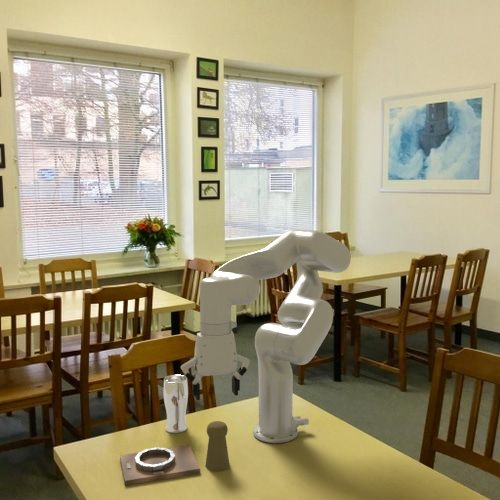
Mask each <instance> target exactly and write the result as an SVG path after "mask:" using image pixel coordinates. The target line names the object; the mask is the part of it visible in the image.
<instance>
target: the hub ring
mask: <svg viewBox="0 0 500 500" xmlns="http://www.w3.org/2000/svg"><path fill="white" fill-rule="evenodd" d="M166 448H167V447H160V446H159V447H158V446H156V447H150V448H146V449H144V450H142V451H139V453H138V452H137V453H138V454H137V455H136V457H135V465H136V468H137V469H139V470H141V471H143V472H160V471H164V470H166V469H168V468H170V467H172V466H173V464H174V463H175V455H174V452H173V451H171V450H169V449H166ZM152 455H165V456H167V457H169V460H167V461H165V462H163V463H160V464H145V463H143V462H141V460H142V459H143V458H146V457H148V456H152Z"/></svg>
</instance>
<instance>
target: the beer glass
mask: <svg viewBox="0 0 500 500" xmlns="http://www.w3.org/2000/svg"><path fill="white" fill-rule="evenodd" d="M188 399H189V386H188V379H187V378H186V376H185V375H181V374H171V375H167V376H165V377H164V378H163V401H164V406H165V411H166V412H165V413H166V425H165V430H166V431H167V432H168V433H170V434H180V433H183V432H185V431H186V430H187V429H188V425H187V420H186V415H187V407H188V406H187V405H188V401H189V400H188Z"/></svg>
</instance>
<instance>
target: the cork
mask: <svg viewBox="0 0 500 500" xmlns="http://www.w3.org/2000/svg"><path fill="white" fill-rule="evenodd" d="M228 431H229V430H228V426H227V423H225V422H223V421H220V420H216V421H215V420H213V421H211V422H209V423H208V425H207V427H206V434H207V436H208V443H207V451H206V457H205V467H206V469H207V470H209V471H212V472H222V471H226V470H227V469H229V467H230V466H231V463H230V459H229V458H230V457H229V453H228V452H229V451H228V444H227V437H226V436H227V434H228Z"/></svg>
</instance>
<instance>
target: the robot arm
mask: <svg viewBox="0 0 500 500" xmlns="http://www.w3.org/2000/svg"><path fill="white" fill-rule="evenodd" d="M295 264H296V271H297V273H296V275H297V277H296V281H295V283H294V285H293V287H292V288H291V289H290V291H289V293H288V294H287V295H286V297H285V299H284V300H283V301H282V303H281V304H280V306H279V308H278V311H277V319H278V322H279V323H276V322H268V323H264V324H262V325H260V327H259V328H258V329H257V331H256V332H255V336H254V347H255V352H256V356H257V366H258V423H257V424H255V426H254V427H253V432H252V434H253V436H254V437H255V438H256V439H257V440H259V441H262V442H265V443H268V444H269V443H270V444H284V443H288V442H291V441H293V440H295V439H296V438H297V436H298V435H299V429H298V428H299V426H307V425H310V424H309V422H310V421H309V418H308V417H303V418H302V417H301V415H295V416H294V415H293V399H294V398H293V393H294V392H293V389H294V387H293V385H294V384H293V383H294V382H293V381H294V380H293V379H294V378H293V376H294V375H293V369H292V366H291V364H294V365H298V366H299V365H300V366H302V365H303V366H304V365H307V364H308V363H309V362H311V361H312V359H313V358H314V357H315V355H316V353H317V352H318V350H319V349H320V347H321V345H322V343H323V342H324V341H325V339H326V336H327V335H328V333H329V331H330V329H331V327H332V325H333V322H334V310H333V307H332V305H331V304H330V302H328V301H327V300H325V299H321V297H322V295H323V292H324V286H323V283H322V280H321V278H320V275H319V272H326V273H333V274H341V273H343V272H345V271H346V270H347V269H348V268H349V266H350V264H351V252H350V250H349V248H348V246H347V245H345V244H344V243H343V242H341V241H339V240H337V239H336V238H334V237H332V236H330V235H328V234H327V233H325V232H322V231H320V230H308V229H307V230H306V229H291V230H288V231H286V232H284V233H283V234H282V235H280V236H279V237H277V238H276V239H275V240H274V241H272V242H271V243H269V244H268V245H266V246H265V247H264V248H262V249H260V250H257V251H253V252H250V253H247V254H245V255H241V256H239V257H236V258H234V259H231V260H229V261H227V262H226V263H224V264H222V265H221V266H220V267H218V268H217V269H216V270H214V271H213V273H211V274H210V275H209V276H208V277H205V278H203V279H202V280H201V281H200V284H199V316H200V317H199V318H200V320H199V323H200V325H199V327H200V330H199V332H197V333H196V338H195V342H194V343H195V346H194V356H193V358H192V359H190V360H188V361H187V362H184V363H183V364H181V366H180V369H181V370H182V372H183V374H184V376H186V378H187V380H188V381H189V382H191V388H192V389H191V391H192V393H191V394H192V396H193V397H194V398H195V399H196V401H199V400H200V399H201V392H200V391H201V389H200V387H201V386H200V383H199V381H200V380H202V378H203V377H206V376H207V377H210V376H217V375H218V376H219V375H227V374H228V375H229V374H232V377H231V392H232V394H234V396H239V391H240V389H241V387H240V386H241V379H242V377H243V376H244V374H245V373H247V370H248V368H249V366H250V364H251V360H250V359H249V358H246V357H244V356H242V355H241V354H238V352H237V346H236V345H237V344H236V339H235V338H236V337H235V333H234V332H233V329H234V328H237V326H238V324H237V321H232V307H233V306H244V305H245V306H246V305H250V304H252V303H254V302H255V301H256V300H257V299H258V298H259V296H260V293H261V285H260V282H259V281H258V280H269V279H273V278H277V277H279V276H281V275H282V274H284V273H285V272H286V271H288V270H289V269H290V268H291V267H292V266H294V265H295ZM238 362H240V363H242V364H241V365H240V367H239V368H238ZM192 367H194V370H195V371H194V373H193V374H192V373H190V371H189V369H190V368H192Z"/></svg>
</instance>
